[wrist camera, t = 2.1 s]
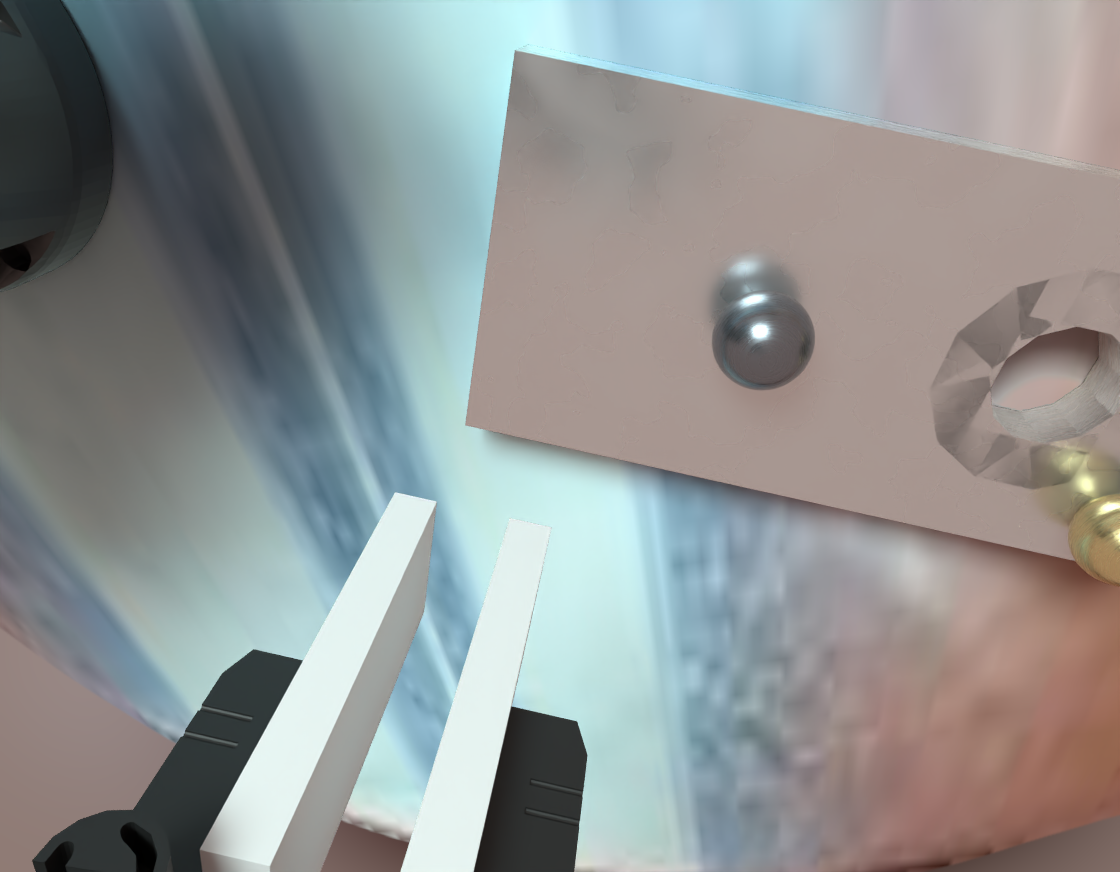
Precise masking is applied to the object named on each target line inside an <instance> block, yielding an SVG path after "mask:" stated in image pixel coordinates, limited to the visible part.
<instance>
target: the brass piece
mask: <svg viewBox="0 0 1120 872" xmlns="http://www.w3.org/2000/svg"><path fill="white" fill-rule="evenodd" d="M1068 545H1069V548H1070V551H1071V554H1072V556H1073V558H1074V559H1075V561H1076V562H1077V564H1078V565H1079V566H1080V567H1081V568H1082V569H1083V570H1084V571H1085V572H1086V573H1088V574H1089V575H1090V576H1092V577H1094V578H1095V579H1097V580H1099V581H1102V582H1104V583H1107V584H1110V585H1114V586H1119V587H1120V494H1113V495H1107V496H1103V497H1099V498H1097V499H1094V500H1092V501H1090V502H1088V503H1087V504H1085V505H1084V506H1083V507H1082V508H1081V509H1080V510H1079V511H1078V512H1077V513H1076V514H1075V515H1074V517H1073V519H1072V521H1071V523H1070V525H1069V529H1068Z"/></svg>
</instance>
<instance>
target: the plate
mask: <svg viewBox="0 0 1120 872" xmlns="http://www.w3.org/2000/svg"><path fill="white" fill-rule="evenodd" d="M756 290H773V291H778V292H782V293H784V294H787V295H789V296H791V297H792V298H794V299H795V300H796V301H798V302H799V303H800V304H801V305H802V306H803V307H804V308H805V310H806V311H807V313H808V314H809V316H810V318H811V320H812V323H813V326H814V331H815V345H814V351H813V354H812V357H811V359H810V361H809V363H808V365H807V366H806V368H805V369H804V371H803V372H802V373H801V374H800V375H799V376H798V377H797V378H795V379H794V380H793V381H791V382H790V383H788V384H786V385H784V386H782V387H779V388H776V389H771V390H752V389H748V388H744V387H742V386H740V385H738V384H736V383H734V382H733V381H731V380H730V379H729V378H728V377H727V376H726V375H725V374H724V373H723V372H722V371H721V369H720V368H719V366H718V364H717V363H716V360H715V358H714V354H713V350H712V333H713V329H714V326H715V323H716V321H717V319H718V317H719V315H720V313H721V312H722V311H723V309H724V308H725V307H726V306H727V305H728V304H729V303H730V302H732V301H733V300H734V299H736V298H737V297H739V296H741V295H743V294H745V293H748V292H751V291H756ZM1073 327H1081V328H1085V329H1090V330H1095V331H1098V340H1099V358H1098V359H1097V361H1096V363H1095V364H1094V366H1093V367H1092V369H1091V371H1090V372H1089V374H1088V376H1087V377H1086V379H1085V381H1084V382H1083V384H1082V385H1081V386H1079V387H1078V388H1076V389H1075V390H1073V391H1072V392H1070V393H1069V394H1067V395H1066V396H1064V397H1063V398H1061V399H1060V400H1058V401H1057V402H1055V403H1054V404H1051V405H1047V406H1042V407H1038V408H1033V409H1028V410H1024V411H1015V410H1011V409H1006V408H1002V407H997V406H993V405H992V401H991V391H990V388H991V386H992V385H993V383H994V381H995V379H996V377H997V375H998V373H999V372H1000V370H1001V368H1002V366H1003V364H1004V362H1005V360H1006V359H1007V358H1008V357H1010V356H1011V355H1013V354H1014V353H1015V352H1017V351H1018V350H1019V349H1021V348H1022V347H1024V346H1025V345H1026V344H1028V343H1029V342H1030V341H1032V340H1033V339H1035V338H1036V337H1037V336H1040V335H1044V334H1048V333H1053V332H1057V331H1061V330H1065V329H1069V328H1073ZM465 425H467V426H471V427H476V428H480V429H485V430H489V431H494V432H498V433H502V434H507V435H511V436H516V437H520V438H525V439H529V440H534V441H538V442H543V443H547V444H552V445H556V446H561V447H565V448H570V449H574V450H579V451H583V452H588V453H592V454H597V455H601V456H606V457H610V458H615V459H619V460H624V461H628V462H633V463H637V464H642V465H646V466H651V467H655V468H660V469H664V470H669V471H673V472H678V473H682V474H687V475H691V476H696V477H700V478H705V479H709V480H714V481H718V482H723V483H727V484H732V485H736V486H741V487H745V488H750V489H754V490H759V491H763V492H768V493H772V494H777V495H781V496H786V497H790V498H795V499H799V500H804V501H808V502H813V503H817V504H822V505H826V506H830V507H835V508H839V509H844V510H848V511H853V512H857V513H862V514H866V515H871V516H875V517H880V518H884V519H889V520H893V521H898V522H902V523H907V524H911V525H916V526H920V527H925V528H929V529H934V530H938V531H943V532H947V533H952V534H956V535H961V536H965V537H970V538H974V539H979V540H983V541H988V542H992V543H997V544H1001V545H1006V546H1010V547H1015V548H1019V549H1024V550H1028V551H1033V552H1037V553H1042V554H1046V555H1051V556H1055V557H1060V558H1064V559H1069V560H1073V561H1075V559H1074V558H1073V556H1072V554H1071V551H1070V548H1069V545H1068V529H1069V525H1070V523H1071V521H1072V519H1073V517H1074V515H1075V514H1076V513H1077V512H1078V511H1079V510H1080V509H1081V508H1082V507H1083V506H1084V505H1085V504H1087V503H1088V502H1090V501H1092V500H1094V499H1097V498H1099V497H1103V496H1107V495H1113V494H1120V170H1116V169H1111V168H1106V167H1101V166H1097V165H1092V164H1087V163H1083V162H1078V161H1073V160H1069V159H1064V158H1059V157H1055V156H1050V155H1045V154H1040V153H1036V152H1031V151H1026V150H1022V149H1017V148H1012V147H1008V146H1003V145H998V144H993V143H989V142H984V141H979V140H975V139H970V138H965V137H961V136H956V135H951V134H946V133H942V132H937V131H932V130H928V129H923V128H918V127H914V126H909V125H904V124H900V123H895V122H890V121H885V120H881V119H876V118H871V117H867V116H862V115H857V114H853V113H848V112H843V111H838V110H834V109H829V108H824V107H820V106H815V105H810V104H806V103H801V102H796V101H792V100H787V99H782V98H777V97H773V96H768V95H763V94H759V93H754V92H749V91H745V90H740V89H735V88H730V87H726V86H721V85H716V84H712V83H707V82H702V81H698V80H693V79H688V78H684V77H679V76H674V75H669V74H665V73H660V72H655V71H651V70H646V69H641V68H637V67H632V66H627V65H622V64H618V63H613V62H608V61H604V60H599V59H594V58H590V57H585V56H580V55H576V54H571V53H566V52H561V51H557V50H552V49H547V48H543V47H538V46H533V45H529V44H528V45H526V46H523V47H521V48H519V49H516V50H515V54H514V61H513V69H512V77H511V84H510V92H509V99H508V107H507V114H506V122H505V129H504V137H503V145H502V152H501V160H500V167H499V175H498V182H497V190H496V197H495V205H494V213H493V220H492V228H491V235H490V243H489V250H488V258H487V265H486V273H485V281H484V288H483V296H482V303H481V311H480V318H479V326H478V333H477V341H476V349H475V356H474V364H473V371H472V379H471V386H470V394H469V401H468V409H467V417H466V424H465Z"/></svg>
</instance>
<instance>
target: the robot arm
mask: <svg viewBox="0 0 1120 872" xmlns="http://www.w3.org/2000/svg"><path fill="white" fill-rule="evenodd" d="M112 164H113V159H112V140H111V130H110V124H109V118H108V113H107V109H106V104H105V100H104V97H103V93H102V90H101V86H100V83H99V80H98V78H97V75H96V72H95V69H94V66H93V64H92V62H91V59H90V57H89V54H88V52H87V50H86V48H85V46H84V44H83V41H82V39H81V37H80V35H79V33H78V31H77V30H76V28H75V26H74V24H73V22H72V20H71V19H70V17H69V15H68V14H67V12H66V10H65V9H64V7H63V5H62V4H61V2H60V1H59V0H0V292H1V291H5V290H8V289H11V288H14V287H17V286H19V285H21V284H24V283H26V282H28V281H30V280H32V279H34V278H37V277H39V276H41V275H43V274H45V273H47V272H50V271H52V270H54V269H56V268H58V267H59V266H61V265H63V264H65V263H66V262H67V261H69V260H70V259H71V258H73V257H74V256H75V255H76V254H77V253H78V252H79V251H80V250H81V249H82V248H83V247H84V246H85V245H86V243H87V242H88V241H89V239H90V238H91V237H92V235H93V234H94V232H95V230H96V228H97V227H98V225H99V223H100V220H101V218H102V216H103V213H104V210H105V207H106V204H107V201H108V196H109V192H110V186H111V179H112ZM436 504H437V502H436V501H431V500H427V499H422V498H418V497H414V496H409V495H405V494H400V493H396V492H395V494H394V496H393V497H392V499H391V501H390V503H389V505H388V506H387V508H386V510H385V512H384V514H383V516H382V517H381V519H380V521H379V523H378V525H377V527H376V528H375V530H374V532H373V534H372V536H371V538H370V539H369V541H368V543H367V545H366V547H365V548H364V550H363V552H362V554H361V556H360V558H359V559H358V561H357V563H356V565H355V567H354V569H353V570H352V572H351V574H350V576H349V578H348V580H347V581H346V583H345V585H344V587H343V589H342V591H341V592H340V594H339V596H338V598H337V600H336V601H335V603H334V605H333V607H332V609H331V611H330V612H329V614H328V616H327V618H326V620H325V622H324V623H323V625H322V627H321V629H320V631H319V633H318V634H317V636H316V638H315V640H314V642H313V643H312V645H311V647H310V649H309V651H308V653H307V654H306V656H305V658H304V660H303V661H302V660H298V659H294V658H289V657H285V656H280V655H276V654H272V653H267V652H263V651H259V650H254V649H253V650H252V651H251V652H250V653H248V654H247V655H246V656H244V657H243V658H242V659H240V660H239V661H238V662H236V663H235V664H234V665H233V666H231V667H230V668H229V669H227V670H226V671H225V672H223V673H222V675H221V676H220V678H219V679H218V681H217V682H216V684H215V685H214V687H213V689H212V690H211V692H210V693H209V695H208V696H207V698H206V699H205V701H204V702H203V704H202V708H201V710H200V711H197V713H196V715H195V716H194V718H193V719H192V721H191V722H190V724H189V725H188V727H187V728H186V730H185V734H184V736H183V737H180V739H179V741H178V742H177V744H176V745H175V747H174V748H173V750H172V751H171V753H170V754H169V756H168V757H167V759H166V760H165V762H164V764H163V765H162V767H161V768H160V770H159V771H158V773H157V774H156V776H155V777H154V779H153V780H152V782H151V783H150V785H149V787H148V788H147V790H146V791H145V793H144V794H143V796H142V797H141V799H140V800H139V802H138V803H137V805H136V806H135V808H134V809H133V810H111V811H104V812H101V813H98V814H95V815H92V816H89V817H86V818H83V819H80V820H78V821H77V822H75V823H74V824H72V825H71V826H69V827H67V828H66V829H65V830H63V831H61V832H60V833H58V834H57V835H55V836H54V837H53V838H52V839H51V840H50V841H49V842H48V843H47V844H46V845H45V847H44V848H43V849H42V850H41V851H40V852H39V853H38V855H37V856H36V857H35V858H34V859H33V860H32V861H33V865H34V868H35V871H36V872H320V871H321V869H322V866H323V864H324V861H325V859H326V856H327V854H328V851H329V849H330V846H331V843H332V841H333V839H334V836H335V834H336V831H337V829H338V826H339V823H340V821H341V819H342V816H343V814H344V811H345V809H346V806H347V804H348V801H349V799H350V796H351V794H352V791H353V789H354V786H355V784H356V781H357V779H358V776H359V774H360V771H361V768H362V766H363V763H364V761H365V758H366V756H367V753H368V751H369V748H370V746H371V743H372V741H373V738H374V736H375V733H376V731H377V728H378V726H379V723H380V721H381V718H382V716H383V713H384V711H385V708H386V706H387V703H388V701H389V698H390V696H391V693H392V691H393V688H394V686H395V683H396V681H397V678H398V676H399V673H400V671H401V668H402V666H403V663H404V661H405V658H406V656H407V653H408V651H409V648H410V646H411V643H412V640H413V638H414V635H415V633H416V630H417V628H418V625H419V623H420V620H421V618H422V615H423V613H424V607H425V598H426V590H427V581H428V573H429V564H430V556H431V547H432V538H433V530H434V521H435V513H436ZM550 532H551V527H547V526H543V525H538V524H534V523H529V522H525V521H520V520H516V519H512V518H510V519H509V522H508V525H507V528H506V532H505V535H504V538H503V541H502V545H501V548H500V551H499V554H498V558H497V561H496V564H495V567H494V571H493V574H492V577H491V580H490V584H489V587H488V590H487V593H486V597H485V600H484V603H483V606H482V610H481V613H480V616H479V619H478V622H477V626H476V629H475V632H474V635H473V639H472V642H471V645H470V648H469V652H468V655H467V658H466V661H465V665H464V668H463V671H462V674H461V678H460V681H459V684H458V687H457V691H456V694H455V697H454V700H453V704H452V707H451V710H450V713H449V716H448V720H447V723H446V726H445V729H444V733H443V736H442V739H441V742H440V746H439V749H438V752H437V755H436V759H435V762H434V765H433V768H432V772H431V775H430V778H429V781H428V785H427V788H426V791H425V794H424V798H423V801H422V804H421V807H420V811H419V814H418V817H417V820H416V823H415V827H414V830H413V833H412V836H411V840H410V843H409V846H408V850H407V853H406V856H405V859H404V863H403V866H402V869H401V872H574V868H575V859H576V850H577V841H578V833H579V821H580V815H581V806H582V798H583V797H582V794H583V789H584V780H585V771H586V762H587V752H586V749H585V746H584V743H583V739H582V736H581V733H580V730H579V726H578V723H577V721H573V720H568V719H564V718H559V717H555V716H551V715H546V714H542V713H538V712H533V711H529V710H525V709H520V708H516V707H512V703H513V698H514V694H515V690H516V685H517V681H518V676H519V672H520V667H521V663H522V659H523V654H524V650H525V645H526V641H527V636H528V632H529V627H530V623H531V618H532V614H533V609H534V605H535V600H536V596H537V591H538V587H539V582H540V577H541V573H542V568H543V564H544V559H545V555H546V550H547V546H548V541H549V537H550Z"/></svg>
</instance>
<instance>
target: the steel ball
mask: <svg viewBox="0 0 1120 872" xmlns="http://www.w3.org/2000/svg"><path fill="white" fill-rule="evenodd" d="M814 345H815V331H814V326H813V323H812V320H811V318H810V316H809V314H808V313H807V311H806V310H805V308H804V307H803V306H802V305H801V304H800V303H799V302H798V301H796V300H795V299H794V298H792V297H791V296H789V295H787V294H784V293H782V292H778V291H773V290H756V291H751V292H748V293H745V294H743V295H741V296H739V297H737V298H736V299H734V300H733V301H732V302H730V303H729V304H728V305H727V306H726V307H725V308H724V309H723V311H722V312H721V313H720V315H719V317H718V319H717V321H716V323H715V326H714V329H713V333H712V350H713V354H714V358H715V360H716V363H717V364H718V366H719V368H720V369H721V371H722V372H723V373H724V374H725V375H726V376H727V377H728V378H729V379H730V380H731V381H733V382H734V383H736V384H738V385H740V386H742V387H744V388H748V389H752V390H771V389H776V388H779V387H782V386H784V385H786V384H788V383H790V382H791V381H793V380H794V379H795V378H797V377H798V376H799V375H800V374H801V373H802V372H803V371H804V369H805V368H806V366H807V365H808V363H809V361H810V359H811V357H812V354H813V351H814Z"/></svg>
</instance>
